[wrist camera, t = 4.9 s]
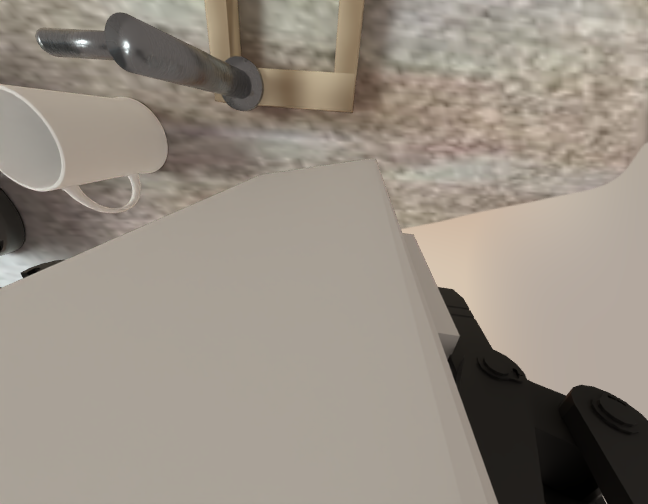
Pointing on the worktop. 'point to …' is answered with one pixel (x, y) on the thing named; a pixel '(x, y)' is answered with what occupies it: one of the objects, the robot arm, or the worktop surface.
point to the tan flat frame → (295, 84)
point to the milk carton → (237, 360)
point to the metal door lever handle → (159, 58)
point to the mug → (77, 141)
